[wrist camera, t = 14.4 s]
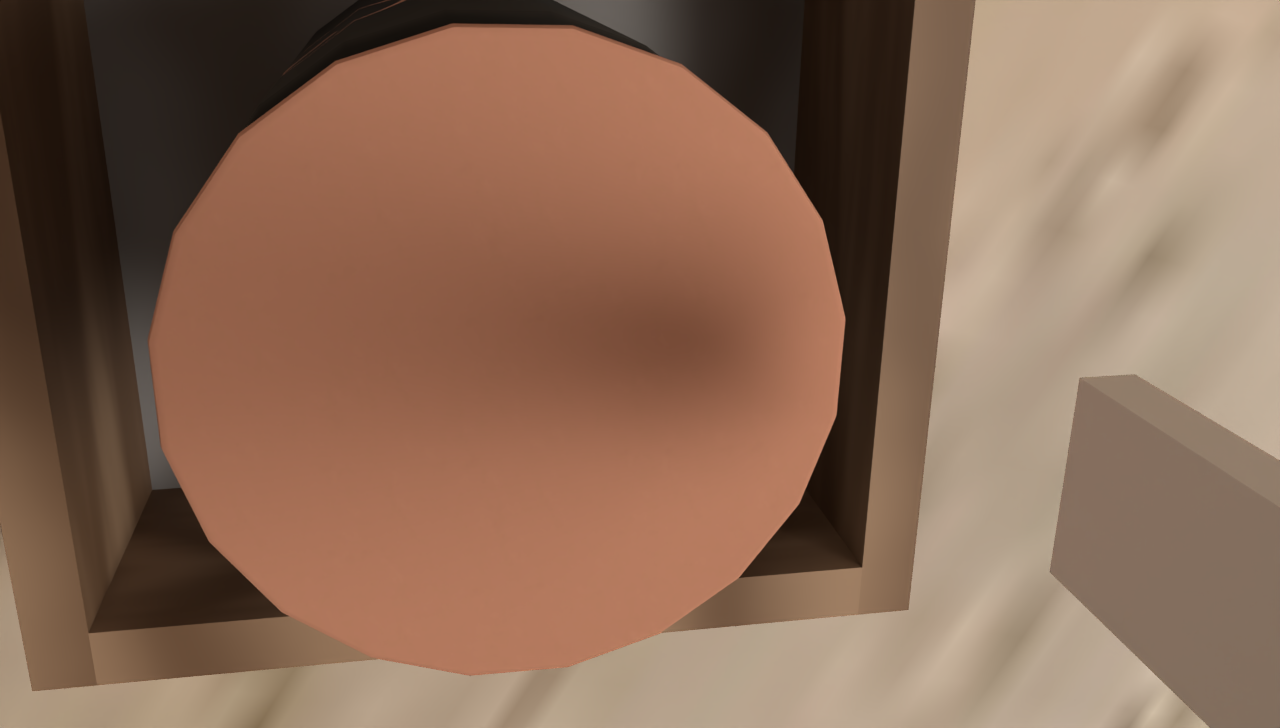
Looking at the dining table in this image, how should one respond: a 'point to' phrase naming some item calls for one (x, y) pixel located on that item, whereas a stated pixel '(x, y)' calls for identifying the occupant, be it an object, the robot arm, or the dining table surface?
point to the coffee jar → (494, 338)
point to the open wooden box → (190, 151)
